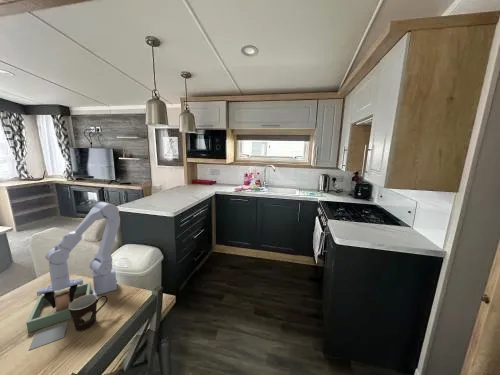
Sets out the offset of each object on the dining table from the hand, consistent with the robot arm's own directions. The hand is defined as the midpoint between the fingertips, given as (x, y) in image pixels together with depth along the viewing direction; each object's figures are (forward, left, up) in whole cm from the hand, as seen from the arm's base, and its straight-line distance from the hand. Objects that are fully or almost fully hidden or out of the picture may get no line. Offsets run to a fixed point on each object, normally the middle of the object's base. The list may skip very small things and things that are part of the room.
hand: (63, 304), depth 89 cm
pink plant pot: (0, 0, -2) cm, 2 cm away
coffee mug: (-10, +17, -2) cm, 20 cm away
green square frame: (0, 0, -2) cm, 2 cm away
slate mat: (+2, +15, -2) cm, 15 cm away
